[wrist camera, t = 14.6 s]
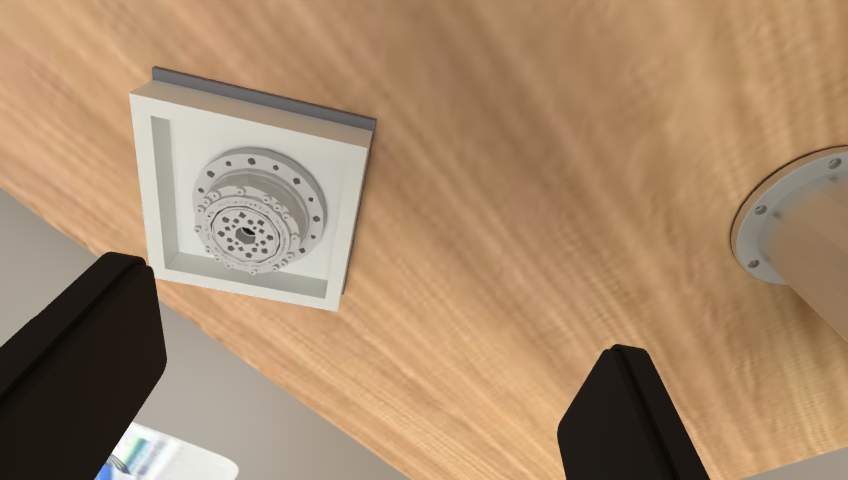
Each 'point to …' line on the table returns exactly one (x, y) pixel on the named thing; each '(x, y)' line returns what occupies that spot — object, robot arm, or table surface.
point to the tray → (231, 130)
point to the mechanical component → (257, 210)
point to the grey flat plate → (270, 101)
